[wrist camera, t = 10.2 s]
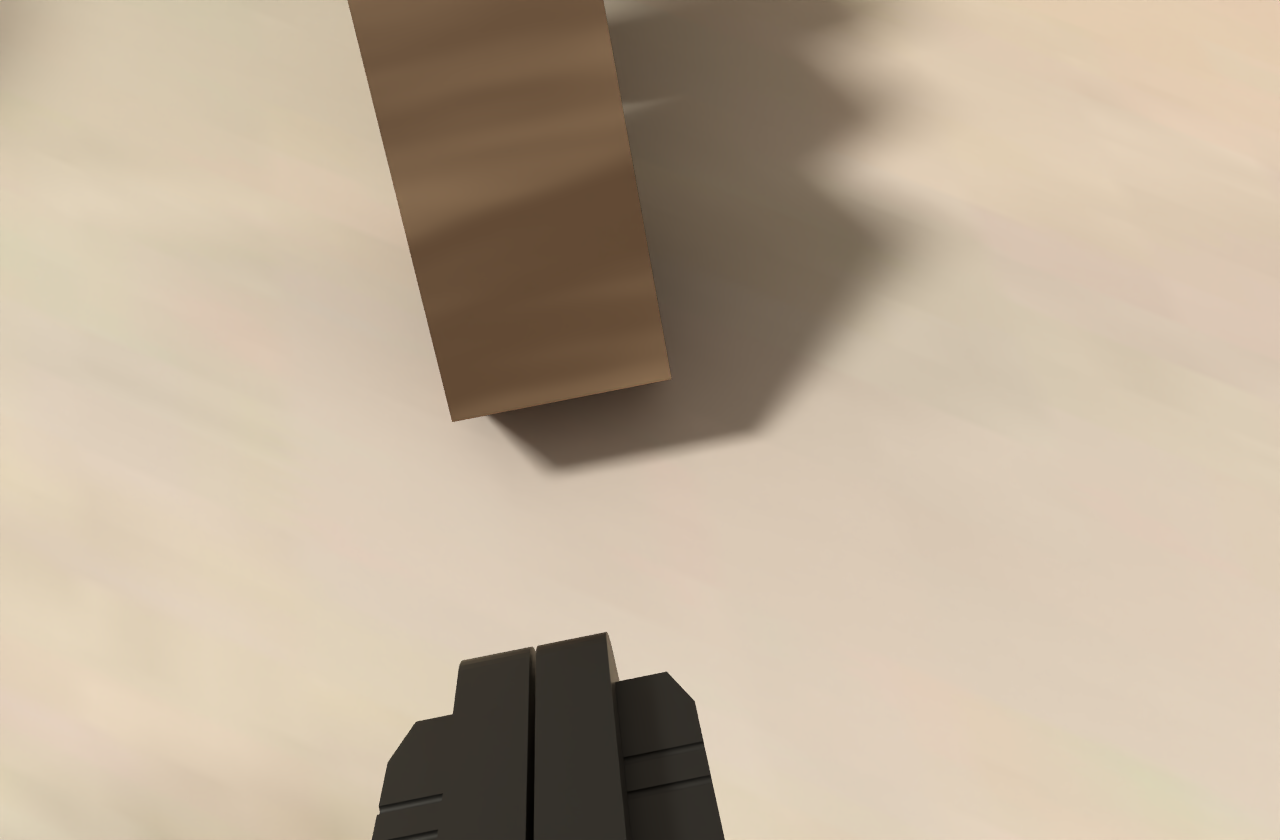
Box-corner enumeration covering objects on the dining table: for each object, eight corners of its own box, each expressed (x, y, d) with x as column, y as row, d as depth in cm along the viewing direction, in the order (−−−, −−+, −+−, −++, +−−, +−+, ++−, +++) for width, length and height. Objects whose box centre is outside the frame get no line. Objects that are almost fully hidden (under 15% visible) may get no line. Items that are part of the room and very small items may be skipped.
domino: (671, 378, 22) (593, -52, 20) (452, 421, 22) (346, -6, 20) (661, 355, 25) (591, -33, 22) (463, 394, 25) (370, 9, 22)
